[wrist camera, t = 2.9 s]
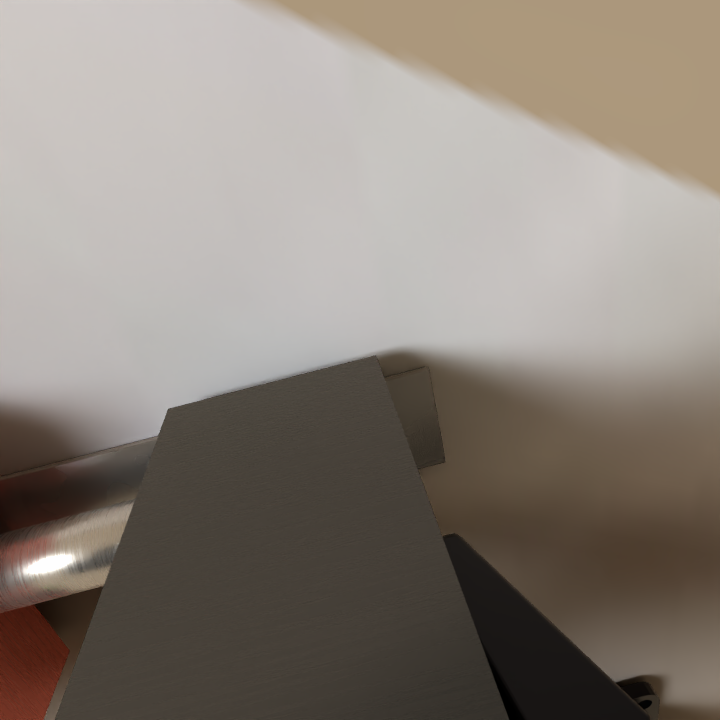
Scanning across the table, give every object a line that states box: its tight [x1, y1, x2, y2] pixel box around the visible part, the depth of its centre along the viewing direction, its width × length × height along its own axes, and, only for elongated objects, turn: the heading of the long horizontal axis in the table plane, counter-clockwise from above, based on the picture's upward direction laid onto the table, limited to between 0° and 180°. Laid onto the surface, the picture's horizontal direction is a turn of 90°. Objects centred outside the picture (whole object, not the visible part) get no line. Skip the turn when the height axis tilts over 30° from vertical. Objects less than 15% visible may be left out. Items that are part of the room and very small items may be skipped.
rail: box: [0, 367, 445, 534], centre depth 11 cm, size 12×2×1 cm, turn 102°
